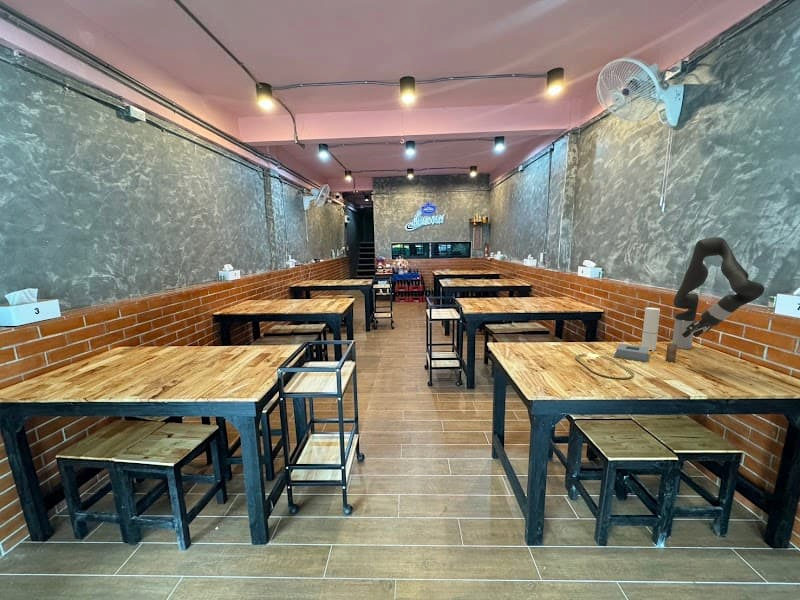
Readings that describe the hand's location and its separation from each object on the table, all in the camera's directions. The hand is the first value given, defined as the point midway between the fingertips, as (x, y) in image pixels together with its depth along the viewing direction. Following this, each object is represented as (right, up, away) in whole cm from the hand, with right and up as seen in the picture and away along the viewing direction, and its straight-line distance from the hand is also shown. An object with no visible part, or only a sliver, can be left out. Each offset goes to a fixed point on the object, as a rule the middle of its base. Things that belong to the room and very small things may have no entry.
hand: (689, 336), depth 171 cm
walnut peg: (-2, -15, +10) cm, 18 cm away
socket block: (-16, -14, +19) cm, 28 cm away
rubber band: (-42, -17, +3) cm, 45 cm away
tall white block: (+2, -12, +31) cm, 33 cm away
